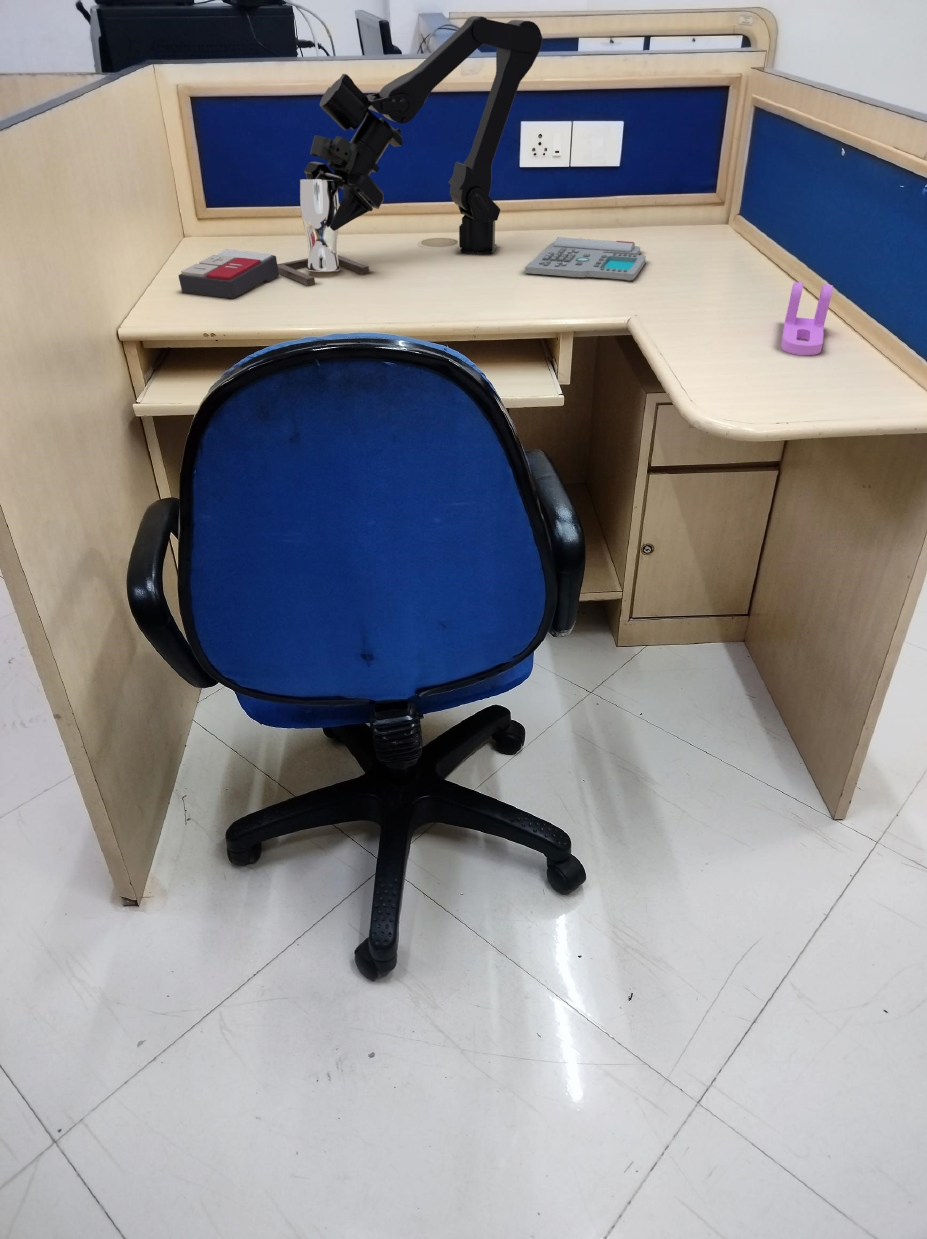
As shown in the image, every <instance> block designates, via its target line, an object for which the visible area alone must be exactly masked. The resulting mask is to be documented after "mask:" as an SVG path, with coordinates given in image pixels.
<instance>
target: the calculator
mask: <svg viewBox="0 0 927 1239" xmlns="http://www.w3.org/2000/svg"><path fill="white" fill-rule="evenodd" d="M277 264H278V260H277V256H276V255H275V254H273V253H265V252H257V251H245V250H238V249H237V250H236V249H229V248H228V249H224V250H222V251H221V252H218V253H217V254H212V255H210V256H208V257H206V258H204V259H202V260H201V261H199V262H198V263H195V264H193V265H190V266H189V267H187V268H185V269H183V270H181V273H180V274H178V281H179V284H180V289H181V292H182V293H184V294H191V295H198V296H199V295H200V296H208V297H214V298H215V297H216V298H224V299H236V298H238V297H239V296H241V295H243V294H244V293H247V292H249V290H251V289H253V288H255V287H256V286H258V285H260V284H261V283H263V282H271V281H273V280H274V279H276V278H278V277H279V276H280V274H279V272H278V266H277Z"/></svg>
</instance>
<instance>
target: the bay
mask: <svg viewBox="0 0 927 1239" xmlns="http://www.w3.org/2000/svg"><path fill="white" fill-rule="evenodd" d="M337 256H338V261H339V266H340V267H342V268H345V269H347V270H350V271H352V272H355V273H358V274H360V275H366V274H370V266H369V265H367V264H363V263H361V262H359V261H356V260H353V259H351V258H347V257H345V256H342V255H340V254H337ZM307 265H308V257H307V258H303V259H302V258H301V259H297V260H292V261H287V262H281V263H277V266H278V272H279V275H282V276H284V277H286V278H288V279H291V280H293V281H295V282H298V283H301V284H302V285H304V286H307V287H309V286H313V285H316V280H315V277H314V276H313V275H310V274H307V273H304V272H303V271H300V270H298V269H303V268H307Z"/></svg>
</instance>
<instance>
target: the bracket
mask: <svg viewBox="0 0 927 1239" xmlns="http://www.w3.org/2000/svg"><path fill="white" fill-rule="evenodd" d="M803 289H804V282H799V281H798V282H797V281H793V283H792V287H791V291H790V296H789V299H788V300H789V301H788V305H787V310H786V314H785V318H784V323H783V330H782V336H781V337H782V338H781V344H780V348H781V350H783V351H784V352H785V353H789V354H792V355H798V356H815V355H818V354H820V353H821V352H822V348H823V344H824V328H825V323H826V319H827V314H828V312H829V307H830V304H831V303H830V302H831V299H832V295H833V289H834V285H832V284H822V285H821V288H820V293H819V297H818V301H817V305H816V309H815V313H814V318H807V317H797V315H798V310H799V308H800V302H801V298H802V294H803ZM799 339H802V340H799Z"/></svg>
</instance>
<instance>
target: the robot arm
mask: <svg viewBox="0 0 927 1239" xmlns="http://www.w3.org/2000/svg"><path fill="white" fill-rule="evenodd" d="M543 40H544V39H543V35H542V32H541V29H540V27H539V26H538V24H537V23H535V22H534V21H532V20H523V19H512V20H509V21H508V22H502V21H497V20H492V19H489V18H486V17H485V16H482V15H481V16H480V15H471V16H469V17H468V18H467V19H466V20H465V22H464V24H462V25H461V26H460V27H459V28H458V29H457V30H456V31H454V32H453V33H452V34H451V36H450V37H448V38H447V39H445V41H444V42H442V44H440V45H439V46H438V47H437V49H435V50H434V51H433V52H432V53H431V54H430V55H428V56H427V57H426V58H425V60H423V61H422V62H421V63H420V64H418V66H417V67H415V68H414V69H412V70H410V71H409V72H406V73H404V74H402V75H399V76H398V77H396V78H395V79H393V80H391V81H390V82H388V83H387V84H385V85H384V86H382V88H381V89H380V90H379V92H375V93H372V94H369V93H368V95H367V94H366V95H365V93H364V92H363V91H362V90H361V89H360V88H359V87H358V86H357V85H356V84H355V82H354V81H353V79H352V78H351V77H350V76H349V74H346V73H342V74H341V75H340V77H339V78H338V79H337V80H336V81H334V83H332V85H331V86H330V87H328V88H327V89H326V91H325V92H324V93H323V95H322V97H321V100H320V102H319V107H320V108H321V109H322V110H323V111H324V112H325V113H326V114H327V115H328V116H329V117H330V118H331V119H332V120H333V121H334V122H335V123H337V125H338V126H339V127H341V129H343V130H344V131H347V130H350V129H351V130H352V131H355V133H354V135H353V137H352V138H351V140H350V141H349V139H347V138H346V137H343V136H339V135H336V136H335V137H334V138H333V139H332V138H329V137H325V136H322V135H321V136H320V135H317V134H316V135H314V136H313V140H312V145H311V147H310V152H309V155H310V156H312V157H317V158H320V159H322V160H323V161H326V162H327V164H325V163H324V162H318V161H309V162H308V163H307V165H306V167H305V169H304V170H303V172H304V174H305V177H306V179H313V180H337V186H338V193H339V192H340V191H341V190H342V193H343V195H342V196H343V199H342V200H341V202H340V203H339V208H338V210H337V212H336V214H335V216H334V218H333V220H332V222H331V224H330V228H331V229H332V230H333V231H335V230H337V229H338V230H339V229H341V228H342V227H343V226H345V225H347V224H349V223H350V222H352V221H354V220H356V219H357V218H359V217H361V216H363V215H364V214H367V213H369V212H373V210H374V209H375V210H376V209H377V210H379V209H380V207H381V206H382V204H383V203H384V202H385V196H384V195H385V194H384V191H383V190H382V189H381V187H379V186H378V185H377V184H376V182H375V181H374V180H373V179H372V178H371V177H370V175H371V173H376V174H377V173H378V171H379V170H380V166H378V164H377V163H379V160H380V159H381V157H382V156H383V154H384V152H385V151H386V149H387V148H388V146H389V144H390V145H391V146H392V147H393V148H395V147H401V146H403V145H404V141H403V137H402V129H401V128H396V129H395V128H394V127H393V126H392V125H391V124H390V123H389V122H388V121H387V120H386V119H388V120H390V121H391V122H395V123H397V124H402V125H403V124H408V123H409V122H411V121H412V120H413V119H414V118H415V116H416V115H417V114H418V113H419V112H420V110H421V109H422V108H423V107H424V105H425V103H426V101H427V100H428V97H429V96H430V94H431V93H432V91H433V90H434V89H435V88H436V87H437V86H438V85H440V83H441V82H443V80H445V79H446V78H447V77H448V76H449V75H450V74H451V73H452V72H454V71H455V70H456V69H457V68H458V67H459V66H460V65H461V64H463V62H464V61H465V60H467V59H468V58H469V57H470V56H471V55H472V54H474V53H475V51H477V49H479V48H480V47H481V46H482V45H485V46H490V47H493V48H494V47H495V48H496V53H495V55H496V56H495V70H496V71H495V76H494V78H493V82H492V84H491V88H490V91H489V94H488V97H487V99H486V103H485V106H484V108H483V112H482V116H481V118H480V121H479V124H478V128H477V131H476V134H475V136H474V140H473V143H472V145H471V149H470V152H469V154H468V156H467V158H466V159H465V160H464V162H463V163H461V162H460V161H456V162H455V163H454V167H453V172H452V176H451V178H450V179H449V181H448V184H449V185H450V188H449V196H450V197H451V201H452V202H453V203H454V204H455V205H457V207H458V210H459V213H460V214H461V215H463V216H461V224H460V225H459V226H458V230H459V231H458V246H459V248H460V251H459V252H460V253H461V254H476V255H478V254H479V255H493V253H494V251H495V250H496V248H497V244H496V221H498V220H499V216H500V213H501V208H500V207H499V206H498V205H497V204H496V203H495V201H493V199H492V198H491V197H490V195H491V189H492V184H493V183H492V182H493V163H494V159H495V156H496V153H497V151H498V148H499V144H500V141H501V139H502V136H503V133H504V130H505V126H506V124H507V122H508V118H509V115H510V112H511V109H512V106H513V103H514V100H515V98H516V94H517V91H518V88H519V86H520V83H521V82H522V80H523V79H524V78H525V77H526V75H527V74H528V72H530V70H531V68H532V67H533V65H534V63H535V61H536V59H537V58H538V55H539V53H540V52H541V49H542V46H543ZM372 111H373V112H376V113H378V114H380V115H382V116H383V117H380V118H379V117H378V116H376V115H375V114H374V113H373V112H372ZM385 118H386V119H385Z"/></svg>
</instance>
